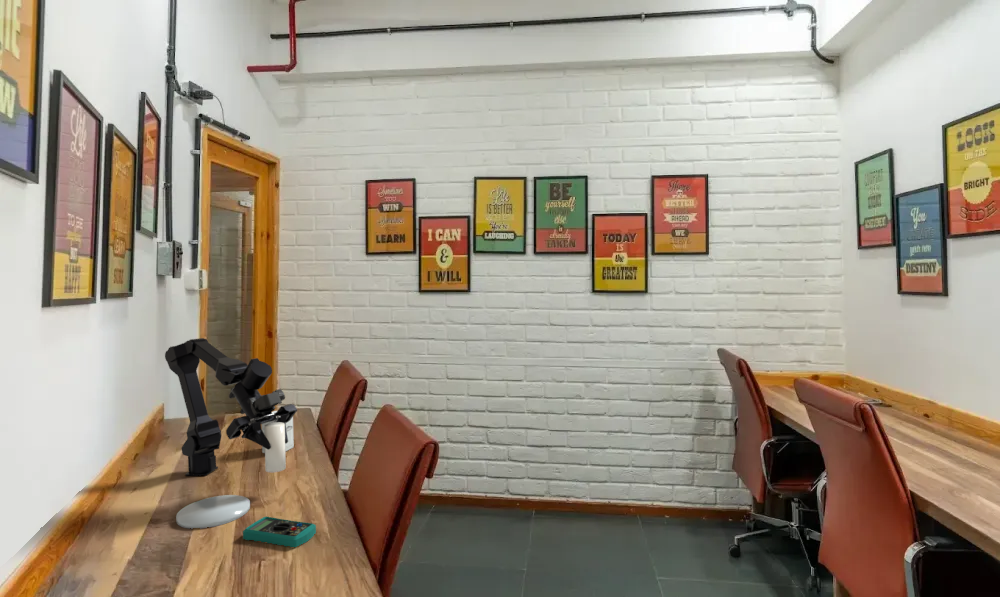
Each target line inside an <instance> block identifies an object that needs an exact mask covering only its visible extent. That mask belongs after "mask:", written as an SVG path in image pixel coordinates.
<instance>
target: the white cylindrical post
mask: <svg viewBox="0 0 1000 597" xmlns="http://www.w3.org/2000/svg"><path fill="white" fill-rule="evenodd" d="M264 433H265V436H266V438H267V440H268V441H269V443H270V445H271V448H270V449H266V448H265V453H264V463H265V466H264V468H265V472H267V473H278V472H282V471H284V470H285V469H286V468H287V467H286V465H287V464H286V462H287V461H286V451H285V424H284V423H282V422H275V423H269V424H266V425H265V426H264Z"/></svg>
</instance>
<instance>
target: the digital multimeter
mask: <svg viewBox="0 0 1000 597" xmlns="http://www.w3.org/2000/svg"><path fill="white" fill-rule="evenodd" d="M316 533H317V525H316V524H314V523H312V522H305V521H303V522H302V521H297V520H290V519H284V518H283V519H282V518H278V517H270V516H263V517H262V518H259V519H258V520H256V521H254V522H253V523H252V524H250V525H248V526H247V527H245V528H244V529H243V531H242V539H243V540H244V539H245V540H244V541H249V540H254V541H253V542H257V541H261V542H260V543H264V542H267V543H266V544H270V543H272V544H271V545H276V544H277V545H276V546H281V545H284V546H283V547H287V546H290V547H289V548H291V547H297V546H299V545H301V544H302V545H304V544H306V543H307V542H308V541H310V540H311V539H312V538H313V537H314V536H315V535H316ZM314 534H315V535H314ZM309 539H310V540H309ZM303 543H304V544H303ZM302 545H301V546H302ZM299 547H300V546H299ZM297 548H298V547H297Z"/></svg>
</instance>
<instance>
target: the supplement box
mask: <svg viewBox="0 0 1000 597" xmlns="http://www.w3.org/2000/svg"><path fill="white" fill-rule="evenodd" d="M277 411H278V410H274V411H272V414H273V413H276V412H277ZM269 423H272V422H271V421H270V422H267V423H263V424H261V429H262V431H263V433H264V426H265V425H266V424H269ZM286 431H287V437H288V442H287V443H286V444H285V452H287V451H289V450H291V449H293V448H295V446H294V443H295V442H294V440H295V439H294V416H293V417H292V418H291V420H290V421H289V422H287V423H286ZM264 435H265V433H264ZM261 452H262V454H265V448H264V447H263V446H261Z"/></svg>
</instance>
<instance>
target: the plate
mask: <svg viewBox="0 0 1000 597" xmlns="http://www.w3.org/2000/svg"><path fill="white" fill-rule="evenodd" d="M250 509H251V501H250V499H249V498H248V497H246V496H243V495H237V494H224V495H223V494H222V495H216V496H210V497H207V498H203V499H201V500H196V501H194V502H192V503H189V504H188V505H186V506H184V507H183V508H181V509H180V510H179V511H178V512H177V513H176V516H175V517H176V518H175V519H176V524H177V525H178V526H179V527H181V528H184V529H190V528H191V529H192V530H193V528H200V529H207V527H209V528H214V527H218V526H221V525H222V526H223V525H225V524H228V523H232V522H233V521H236V520H238V519H240V518H242V517H243V516H244V515H245V514H247V513H248V512H249V511H250Z"/></svg>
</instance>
